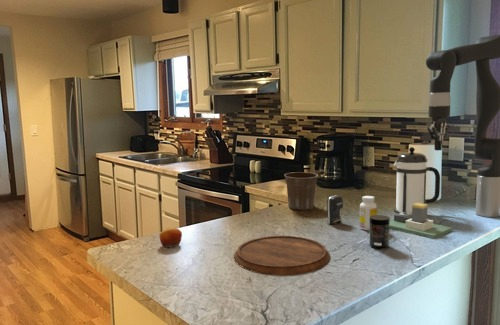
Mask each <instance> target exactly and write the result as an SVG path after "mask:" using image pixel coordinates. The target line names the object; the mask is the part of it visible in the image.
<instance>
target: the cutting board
mask: <svg viewBox="0 0 500 325" xmlns="http://www.w3.org/2000/svg"><path fill="white" fill-rule="evenodd" d="M234 259H235V260H234ZM330 259H331V255H330V252H329V251H328V250H327V248H326V246H324V244H322V243H321V242H318V241H317V240H314V239H311V238H306V237H301V236H296V235H295V236H293V235H271V236H270V235H269V236H263V237H258V238H253V239H250V240H247V241H245V242H243V243H242V244H240V245H239V246H238V248H237V249H236V250H235V252H234V254H233V260H234V262H235V261H236V262H237V263H238V264H239V265H241V266H243V267H244V268H243V267H242V268H243V269H245V268H246V269H245V270H247V269H249V270H248V271H250V270H252V271H251V272H254V271H255V272H254V273H258V272H259V274H263V273H264V275H265V274H266V275H272V274H276V275H277V276H280V275H281V276H288V275H289V276H291V275H299V274H305V273H310V272H314V271H317V270H319V269H322V268H323V267H324V266H326V265H328V263H329V262H330ZM236 262H235V263H236ZM237 263H236V264H237ZM238 264H237V265H238ZM239 265H238V266H239ZM241 266H240V267H241Z"/></svg>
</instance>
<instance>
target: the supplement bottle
mask: <svg viewBox="0 0 500 325" xmlns="http://www.w3.org/2000/svg"><path fill="white" fill-rule="evenodd" d="M361 199H362V202H361V203H360V204H359V228H360V229H361V230H364V231H370V222H369V221H370V216H372V215H378V205H377V203H375V200H376V198H375V196H373V195H364V196H362V197H361Z"/></svg>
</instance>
